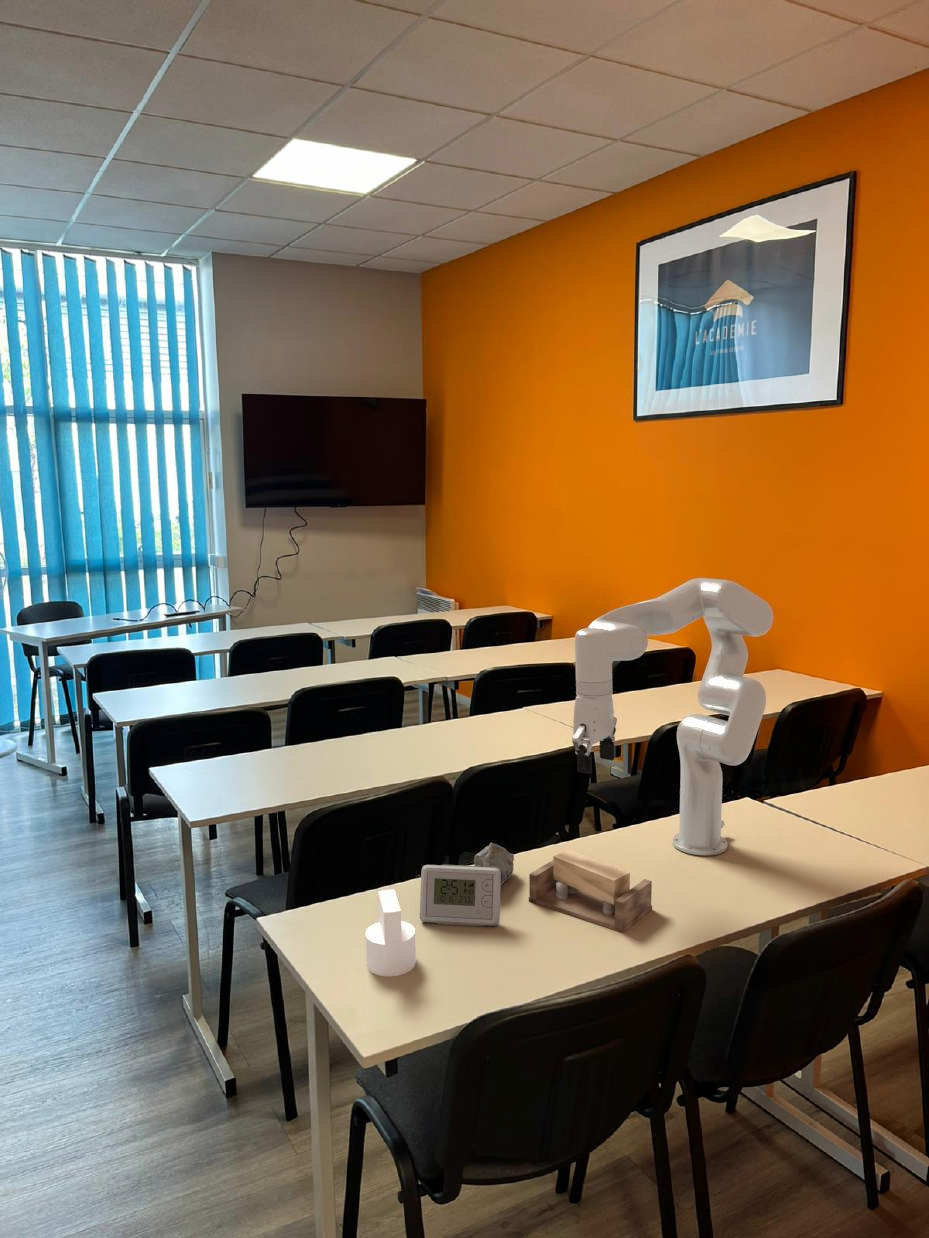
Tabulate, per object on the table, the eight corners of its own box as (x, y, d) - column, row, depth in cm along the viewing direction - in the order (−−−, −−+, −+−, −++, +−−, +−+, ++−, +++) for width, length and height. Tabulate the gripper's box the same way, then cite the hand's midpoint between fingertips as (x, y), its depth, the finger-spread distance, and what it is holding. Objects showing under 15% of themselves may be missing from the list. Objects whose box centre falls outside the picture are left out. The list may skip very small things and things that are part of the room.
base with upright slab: (419, 972, 159) (418, 909, 157) (369, 979, 157) (366, 914, 155) (412, 947, 168) (410, 887, 166) (363, 953, 166) (361, 892, 164)
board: (569, 871, 191) (569, 849, 190) (629, 896, 179) (629, 872, 178) (553, 878, 187) (553, 856, 187) (613, 904, 175) (613, 880, 175)
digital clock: (415, 923, 177) (414, 872, 176) (432, 903, 186) (431, 854, 184) (493, 936, 172) (492, 883, 170) (507, 914, 180) (506, 864, 179)
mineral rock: (509, 870, 201) (508, 827, 200) (534, 888, 192) (534, 844, 190) (457, 882, 195) (457, 838, 194) (481, 902, 186) (480, 856, 184)
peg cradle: (560, 880, 195) (560, 854, 194) (652, 909, 181) (652, 881, 180) (528, 901, 186) (528, 873, 185) (623, 932, 172) (623, 903, 171)
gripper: (598, 676, 196) (600, 751, 199) (557, 694, 183) (559, 774, 185) (629, 680, 192) (630, 757, 194) (589, 699, 178) (591, 781, 181)
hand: (596, 765), depth 190 cm, fingers open, 9 cm apart
